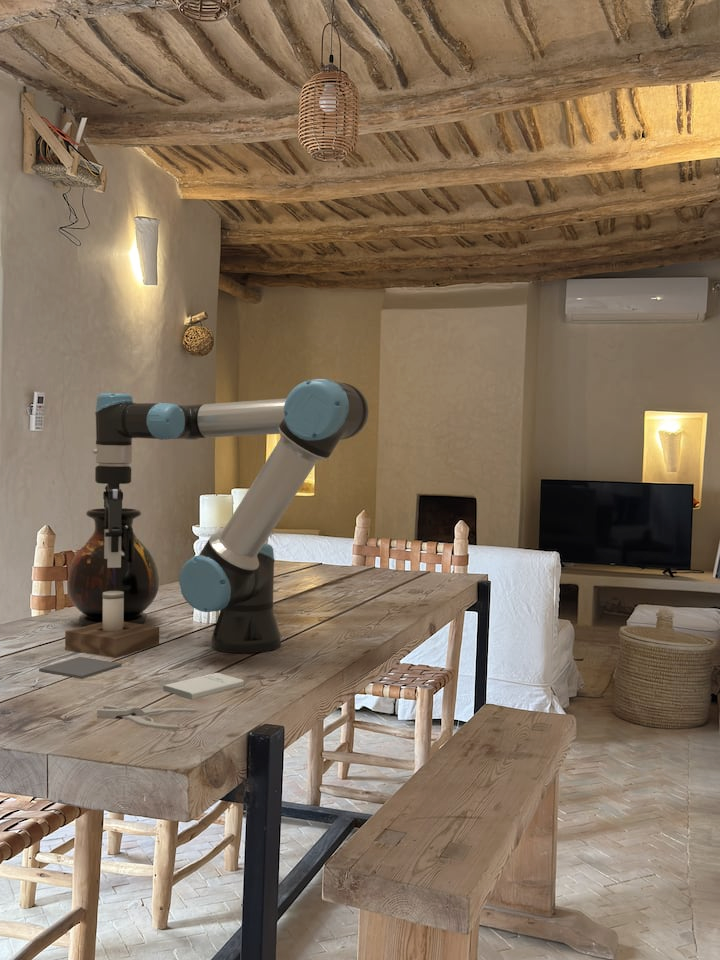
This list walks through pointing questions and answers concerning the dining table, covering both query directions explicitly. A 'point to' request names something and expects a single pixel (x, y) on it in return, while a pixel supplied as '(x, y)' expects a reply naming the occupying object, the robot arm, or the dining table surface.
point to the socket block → (111, 639)
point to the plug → (113, 611)
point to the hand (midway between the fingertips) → (112, 562)
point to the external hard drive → (203, 685)
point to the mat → (80, 667)
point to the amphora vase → (113, 573)
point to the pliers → (126, 713)
